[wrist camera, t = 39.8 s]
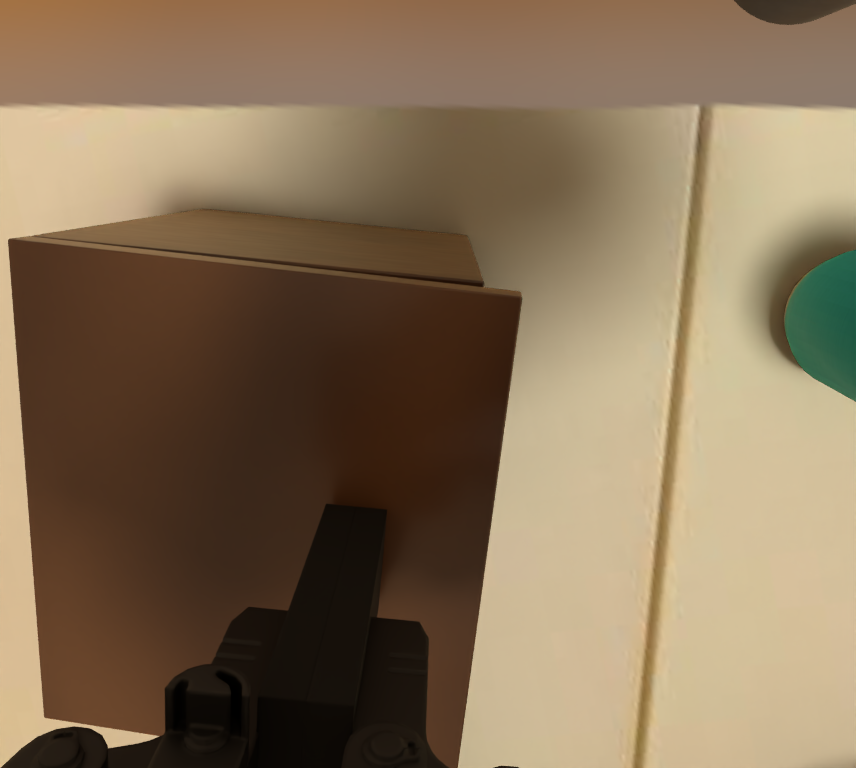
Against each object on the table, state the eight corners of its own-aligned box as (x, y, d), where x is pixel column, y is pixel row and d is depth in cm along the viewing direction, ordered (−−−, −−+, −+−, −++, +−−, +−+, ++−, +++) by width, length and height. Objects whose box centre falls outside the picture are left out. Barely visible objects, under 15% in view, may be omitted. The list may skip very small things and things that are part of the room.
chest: (468, 235, 29) (484, 281, 17) (435, 526, 33) (430, 732, 21) (202, 208, 29) (29, 235, 17) (201, 503, 33) (59, 697, 21)
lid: (521, 291, 16) (522, 296, 15) (457, 761, 20) (455, 783, 19) (29, 235, 17) (7, 238, 16) (60, 698, 21) (43, 718, 20)
